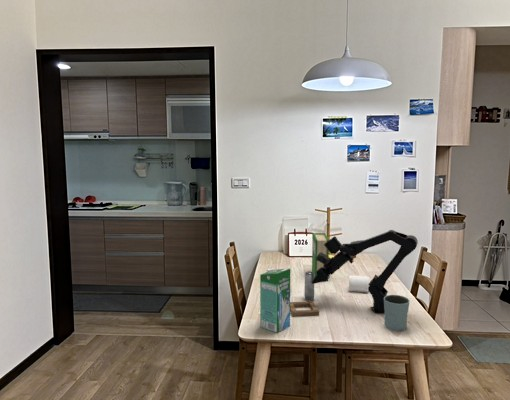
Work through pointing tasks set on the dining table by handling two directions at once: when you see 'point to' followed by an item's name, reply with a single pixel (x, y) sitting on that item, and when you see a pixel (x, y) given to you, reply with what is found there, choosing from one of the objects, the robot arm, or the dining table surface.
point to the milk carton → (275, 299)
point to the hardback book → (318, 250)
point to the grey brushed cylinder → (309, 286)
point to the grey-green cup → (396, 312)
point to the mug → (358, 283)
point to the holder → (297, 313)
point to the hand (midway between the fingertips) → (315, 280)
